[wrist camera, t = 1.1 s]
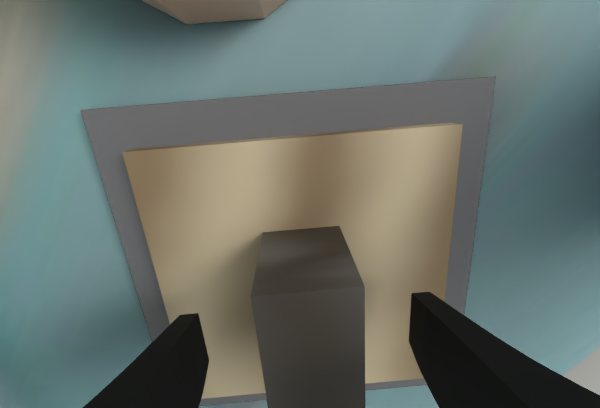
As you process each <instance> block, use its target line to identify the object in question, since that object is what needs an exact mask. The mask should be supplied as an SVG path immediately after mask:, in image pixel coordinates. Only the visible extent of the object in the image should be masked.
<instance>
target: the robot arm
mask: <svg viewBox="0 0 600 408" xmlns="http://www.w3.org/2000/svg"><path fill="white" fill-rule="evenodd" d="M409 343H410V346H411V349H412V351H413V354H414V357H415V359H416V362H417V364H418V367H419V369H420V372H421V374H422V375H423V377H424V379H425V381H426V383H427V385H428V387H429V389H430V391H431V393H432V395H433V397H434V399H435V400H436V402H437V404H438V406H439V408H600V395H598V394H596V393H594V392H592V391H589V390H588V389H586V388H584V387H582V386H580V385H578V384H576V383H574V382H573V381H571V380H569V379H567V378H565V377H563V376H561V375H560V374H558V373H556V372H554V371H552V370H550V369H548V368H547V367H545V366H543V365H541V364H540V363H538V362H536V361H534V360H533V359H531V358H529V357H528V356H526V355H524V354H523V353H521V352H520V351H518V350H516V349H515V348H513V347H511V346H510V345H508V344H506V343H505V342H503V341H502V340H500V339H499V338H497V337H495V336H494V335H492V334H491V333H489V332H488V331H486V330H485V329H483V328H482V327H480V326H479V325H477V324H476V323H474V322H473V321H471V320H470V319H469V318H467V317H466V316H464V315H463V314H461V313H460V312H458V311H457V310H456V309H454V308H453V307H451V306H450V305H448V304H447V303H446V302H444V301H443V300H441V299H440V298H438V297H437V296H435V295H434V294H432V293H431V292H420V293H411V309H410V327H409ZM208 364H209V357H208V353H207V348H206V344H205V340H204V336H203V331H202V327H201V323H200V318H199V314H198V313H194V314H183V315H179V316H178V317H177V318H176V319H175V320H174V321H173V322H172V323H171V324H170V325H169V326H168V327H167V328H166V329H165V330H164V331H163V332H162V333H161V334H160V335H159V336H158V337H157V338H156V339H155V340H154V341H153V342H152V343H151V344H150V345H149V346H148V347H147V348H146V349H145V350H144V351H143V352H142V353H141V354H140V355H139V356H138V357H137V358H136V359H135V360H134V361H133V362H132V363H131V364H130V365H129V366H128V367H127V368H126V369H125V370H124V371H123V372H122V373H121V374H119V375H118V376H117V377H116V378H115V379H114V380H113V381H112V382H111V383H110V384H109V385H108V386H106V387H105V388H104V389H103V390H102V391H101V392H100V393H99V394H98V395H97V396H96V397H94V398H93V399H92V400H91V401H90V402H89V403H88V404H86V405H85V406H84V407H83V408H199V404H200V401H201V398H202V394H203V390H204V385H205V380H206V375H207V370H208Z"/></svg>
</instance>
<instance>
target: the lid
mask: <svg viewBox="0 0 600 408" xmlns="http://www.w3.org/2000/svg"><path fill="white" fill-rule="evenodd" d="M462 128H463V124H459V123H439V124H427V125H415V126H403V127H391V128H379V129H366V130H354V131H342V132H330V133H318V134H306V135H294V136H282V137H270V138H257V139H245V140H233V141H221V142H209V143H197V144H185V145H173V146H160V147H148V148H136V149H131V150H128V151H124V152H122V153H123V157H124V160H125V164H126V168H127V171H128V175H129V178H130V182H131V186H132V189H133V193H134V196H135V200H136V204H137V207H138V211H139V214H140V218H141V222H142V225H143V229H144V233H145V236H146V240H147V243H148V247H149V251H150V254H151V258H152V261H153V265H154V269H155V272H156V276H157V279H158V283H159V287H160V290H161V294H162V297H163V301H164V305H165V308H166V312H167V315H168V319H169V323H170V324H171V323H172V322H173V321H174V320H175V319H176V318H177V317H178V316H179V315H183V314H194V313H198V314H199V318H200V323H201V327H202V331H203V336H204V340H205V344H206V348H207V353H208V357H209V364H208V370H207V375H206V380H205V385H204V390H203V394H202V398H201V399H205V398H216V397H227V396H237V395H248V394H259V393H266V398H267V404H268V408H365V384H367V383H378V382H388V381H399V380H410V379H421V378H424V377H423V375H422V374H421V372H420V369H419V367H418V364H417V362H416V359H415V357H414V354H413V351H412V349H411V346H410V343H409V327H410V309H411V293H420V292H431V293H432V294H434V295H435V296H437V297H438V298H440V299H441V300H443V301H444V300H445V290H446V281H447V271H448V262H449V252H450V243H451V233H452V223H453V214H454V204H455V195H456V185H457V175H458V166H459V156H460V147H461V137H462Z"/></svg>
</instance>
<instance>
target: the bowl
mask: <svg viewBox="0 0 600 408" xmlns="http://www.w3.org/2000/svg"><path fill="white" fill-rule="evenodd" d="M141 1H143V2H145V3H147V4H149V5H151V6H153V7H155V8H157V9H159V10H161V11H163V12H164V13H166V14H168V15H170V16H172V17H174V18H176V19H178V20H180V21H182V22H184V23H186V24H199V23H212V22H224V21H237V20H250V19H263V18H266V17H267V16H268V15H269V14H271V13H272V12H273V11H274V10H276V9H277V8H278V7H279V6H281V5H282V4H283V3H284V2H286V1H287V0H141Z"/></svg>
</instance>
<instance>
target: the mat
mask: <svg viewBox="0 0 600 408" xmlns="http://www.w3.org/2000/svg"><path fill="white" fill-rule="evenodd" d="M495 79H496V76H495V77H483V78H471V79H458V80H446V81H434V82H421V83H409V84H396V85H384V86H372V87H359V88H347V89H335V90H322V91H310V92H297V93H285V94H273V95H260V96H248V97H235V98H223V99H211V100H198V101H186V102H174V103H161V104H149V105H136V106H124V107H112V108H99V109H87V110H81V114H82V117H83V120H84V123H85V127H86V130H87V133H88V136H89V139H90V143H91V146H92V149H93V152H94V156H95V159H96V162H97V165H98V169H99V172H100V175H101V178H102V181H103V185H104V188H105V191H106V194H107V198H108V201H109V204H110V207H111V210H112V214H113V217H114V220H115V223H116V227H117V230H118V233H119V236H120V240H121V243H122V246H123V249H124V252H125V256H126V259H127V262H128V265H129V269H130V272H131V275H132V278H133V281H134V285H135V288H136V291H137V294H138V298H139V301H140V304H141V307H142V311H143V314H144V317H145V320H146V323H147V327H148V330H149V333H150V336H151V340H152V342H153V341H154V340H155V339H156V338H157V337H158V336H159V335H160V334H161V333H162V332H163V331H164V330H165V329H166V328H167V327H168V326H169V325H170V323H169V319H168V315H167V312H166V308H165V305H164V301H163V297H162V294H161V290H160V287H159V283H158V279H157V276H156V272H155V269H154V265H153V261H152V258H151V254H150V251H149V247H148V243H147V240H146V236H145V233H144V229H143V225H142V222H141V218H140V214H139V211H138V207H137V204H136V200H135V196H134V193H133V189H132V186H131V182H130V178H129V175H128V171H127V168H126V164H125V160H124V157H123V153H122V152H124V151H128V150H131V149H136V148H148V147H160V146H173V145H185V144H197V143H209V142H221V141H233V140H245V139H257V138H270V137H282V136H294V135H306V134H318V133H330V132H342V131H354V130H366V129H379V128H391V127H403V126H415V125H427V124H439V123H459V124H463V128H462V137H461V147H460V156H459V166H458V175H457V185H456V195H455V204H454V214H453V223H452V233H451V243H450V252H449V262H448V271H447V281H446V290H445V300H444V302H446V303H447V304H448V305H450V306H451V307H453V308H454V309H456V310H457V311H458V312H460V313H461V314H463V315H464V311H465V303H466V296H467V288H468V281H469V273H470V266H471V258H472V251H473V243H474V236H475V228H476V221H477V213H478V206H479V199H480V191H481V184H482V176H483V169H484V161H485V154H486V146H487V139H488V131H489V124H490V116H491V109H492V101H493V94H494V86H495ZM419 385H427V383H426V381H425V379H424V378H421V379H410V380H399V381H388V382H378V383H367V384H365V390H376V389H387V388H397V387H408V386H419ZM258 400H267V398H266V393H259V394H248V395H237V396H227V397H216V398H205V399H201V401H200V404H199V406H204V405H215V404H225V403H236V402H247V401H258Z"/></svg>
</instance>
